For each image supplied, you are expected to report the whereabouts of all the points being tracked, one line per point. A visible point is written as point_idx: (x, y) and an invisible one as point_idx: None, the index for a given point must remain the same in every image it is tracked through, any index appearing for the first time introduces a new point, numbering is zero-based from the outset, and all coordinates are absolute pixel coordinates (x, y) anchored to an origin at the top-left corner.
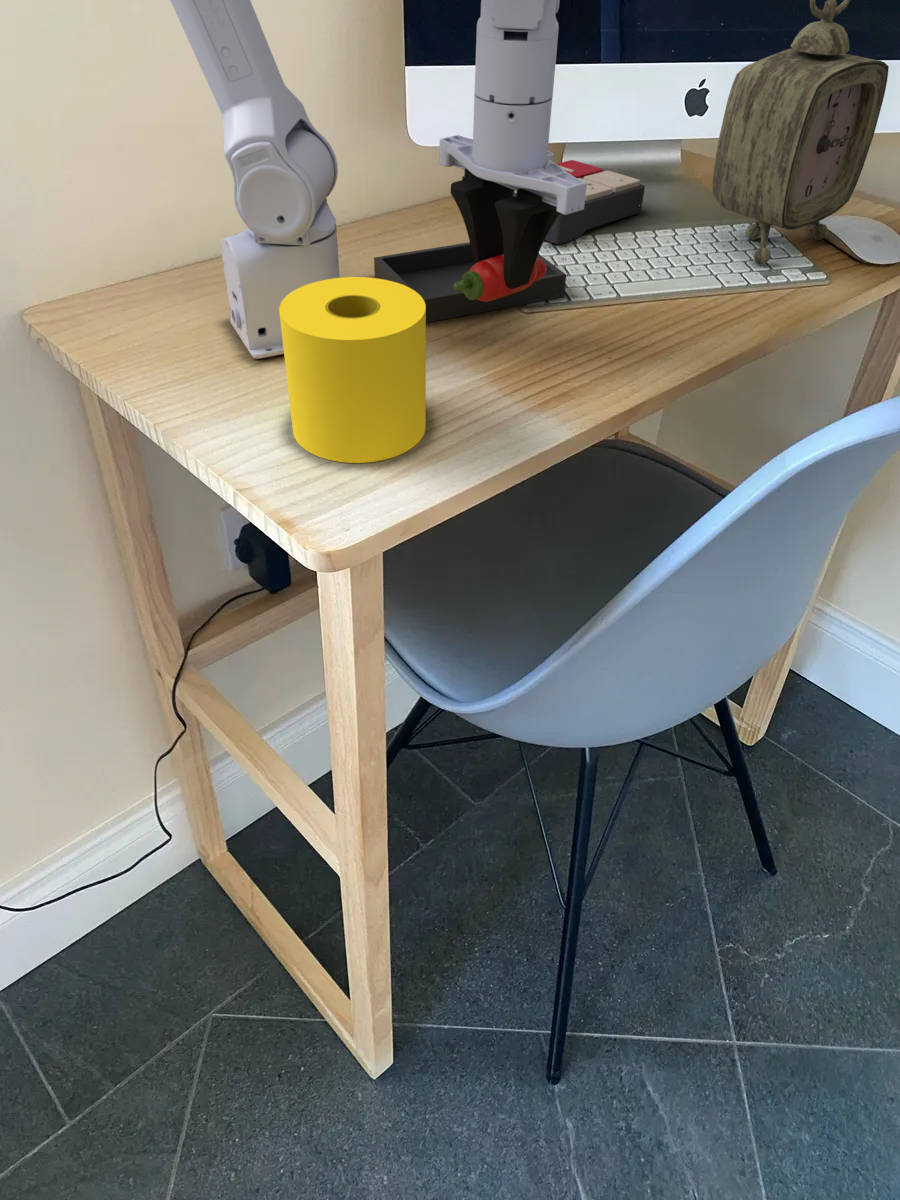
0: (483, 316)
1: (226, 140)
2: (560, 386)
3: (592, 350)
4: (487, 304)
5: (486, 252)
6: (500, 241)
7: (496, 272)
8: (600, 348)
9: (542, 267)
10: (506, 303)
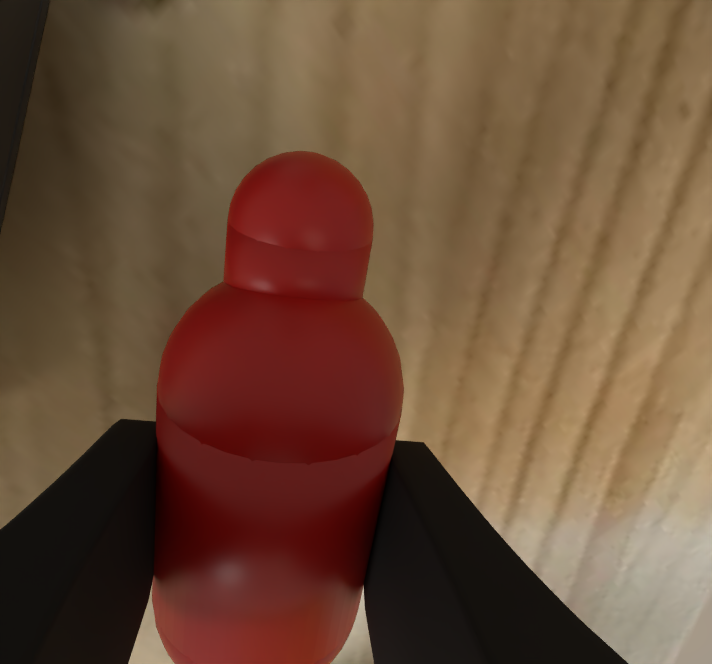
0: (53, 179)
1: None
2: (615, 390)
3: (598, 104)
4: (7, 135)
5: (130, 596)
6: (115, 533)
7: (336, 644)
8: (619, 62)
9: (364, 244)
10: (34, 26)
